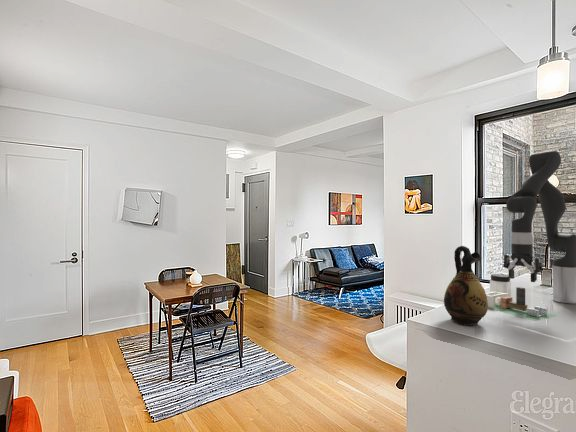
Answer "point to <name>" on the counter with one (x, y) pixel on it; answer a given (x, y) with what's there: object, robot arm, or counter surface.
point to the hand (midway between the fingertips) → (522, 280)
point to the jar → (500, 283)
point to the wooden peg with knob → (520, 300)
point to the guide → (537, 312)
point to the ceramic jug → (465, 291)
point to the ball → (498, 301)
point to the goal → (493, 295)
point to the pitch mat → (519, 313)
